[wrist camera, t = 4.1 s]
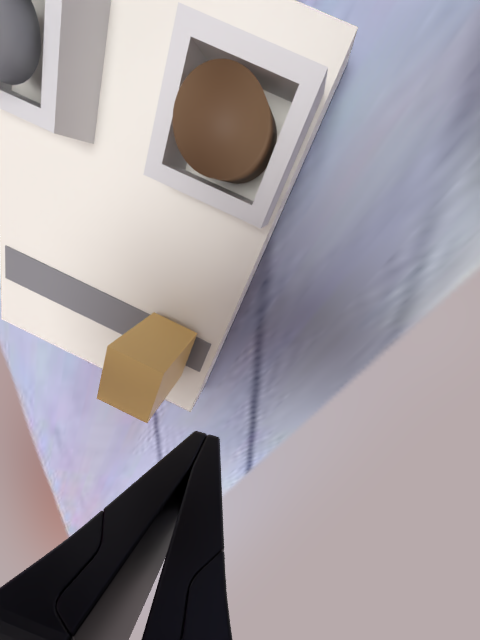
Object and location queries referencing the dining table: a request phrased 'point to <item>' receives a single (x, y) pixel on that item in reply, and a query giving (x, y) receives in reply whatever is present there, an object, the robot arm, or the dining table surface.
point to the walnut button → (224, 122)
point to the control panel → (148, 169)
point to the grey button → (18, 41)
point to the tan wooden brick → (145, 365)
